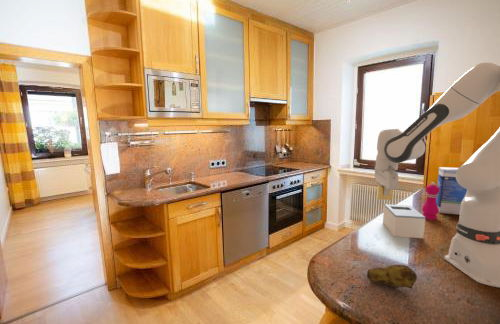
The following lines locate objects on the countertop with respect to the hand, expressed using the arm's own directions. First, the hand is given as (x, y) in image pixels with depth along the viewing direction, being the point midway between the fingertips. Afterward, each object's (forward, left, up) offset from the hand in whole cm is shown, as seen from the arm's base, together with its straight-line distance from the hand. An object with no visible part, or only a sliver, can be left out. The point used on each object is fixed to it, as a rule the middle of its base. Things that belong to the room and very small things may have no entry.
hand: (384, 194), depth 114 cm
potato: (-41, +10, -19) cm, 47 cm away
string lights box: (+38, -47, -19) cm, 64 cm away
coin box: (+6, -10, -19) cm, 22 cm away
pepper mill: (+26, -32, -19) cm, 45 cm away
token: (0, 0, -2) cm, 2 cm away
